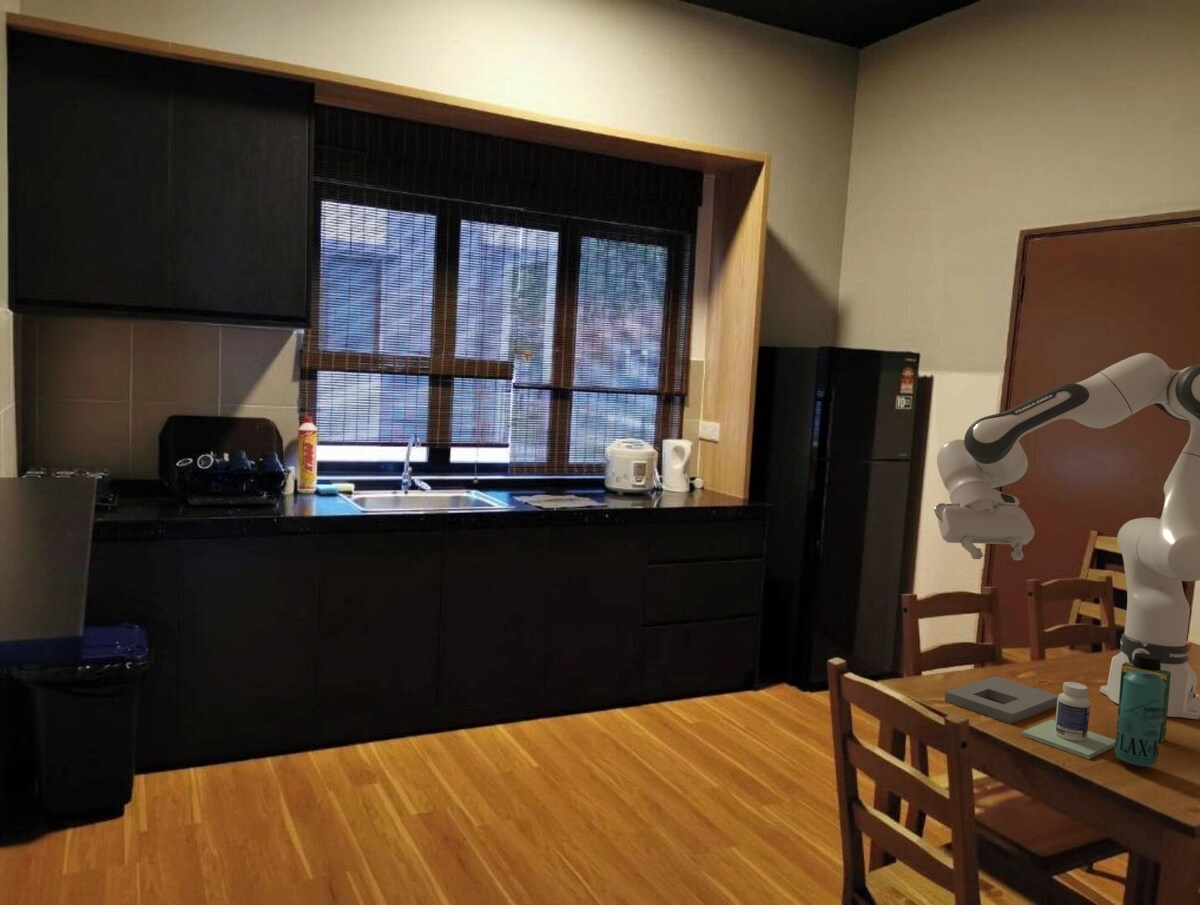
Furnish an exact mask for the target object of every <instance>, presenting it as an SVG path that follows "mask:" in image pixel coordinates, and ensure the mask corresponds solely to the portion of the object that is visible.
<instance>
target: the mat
mask: <svg viewBox="0 0 1200 905" xmlns="http://www.w3.org/2000/svg"><path fill="white" fill-rule="evenodd" d="M1021 737H1024V738H1027V739H1029V738H1030V740H1032V739H1033V741H1035V740H1036V742H1038V743H1041V744H1043V745H1046V744H1047V746H1049V745H1050V746H1049V747H1052V746H1053V748H1055V749H1057V750H1058V749H1059V750H1060V751H1064V752H1066V751H1067V752H1066V753H1070V754H1073V755H1075V756H1078V757H1080V756H1081V758H1083V757H1084V759H1086V760H1090V759H1093V758H1094V757H1096V756H1099V755H1101V754H1102V753H1104V752H1107V751H1109V750H1110V749H1112V748H1116V746H1115V744H1116V741H1115V740H1116V739H1113V738H1111V737H1107V736H1105V735H1101V734H1099V733H1095V732H1092V731H1090V730H1088V731H1087V738H1086V740H1084V741H1073V740H1068V739H1064V738H1062V737H1060V736H1058V735H1057V734H1056V733H1055V719H1049V720H1047V721H1045V722H1042V723H1039V724H1038V725H1037V724H1036V725H1035V726H1032V727H1030V728H1028V729H1025V730H1023V731H1022V730H1021Z"/></svg>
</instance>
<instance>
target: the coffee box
mask: <svg viewBox="0 0 1200 905" xmlns="http://www.w3.org/2000/svg"><path fill="white" fill-rule="evenodd" d="M1132 671H1144V672H1149V673H1153V674H1156V675H1158V676H1159V677H1160V678H1161V679H1162V680H1163V681H1164V683H1165V684H1166V687H1165V692H1164V700H1163V708H1164V709H1163V711H1162V712H1163V713H1162V717H1163V718H1162V720H1161V727H1160V732H1161V733H1160V735H1159V743H1162V742H1163V741H1165V739H1166V733H1167V722H1168V716H1167V712H1168V702H1169V689H1170V677H1171V672H1169V671H1164V670H1159V671H1152V670H1145V669H1141V668H1138V667H1135V666H1134V665H1133V664H1132V663H1127V662H1125V663H1124V664H1122V668H1121V680H1120V694H1119V704H1118V708H1117V710H1118V711H1117V721H1116V731H1118V724H1117V723H1119V716H1120V714H1119V713H1120V710H1121V701H1122V693H1123V684H1124V676H1125V675H1126V674H1128V673H1130V672H1132Z"/></svg>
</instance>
